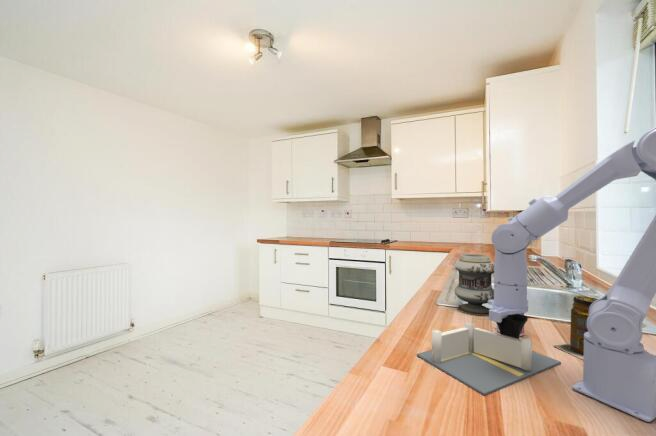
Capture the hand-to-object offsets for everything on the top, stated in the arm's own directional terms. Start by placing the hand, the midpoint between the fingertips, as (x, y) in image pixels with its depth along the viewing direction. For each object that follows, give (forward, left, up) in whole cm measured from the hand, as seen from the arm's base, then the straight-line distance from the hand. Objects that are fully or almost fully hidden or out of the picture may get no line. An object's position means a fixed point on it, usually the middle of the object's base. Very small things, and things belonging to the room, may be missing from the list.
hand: (509, 349), depth 59 cm
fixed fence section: (+7, +8, -2) cm, 11 cm away
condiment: (-4, -21, -3) cm, 22 cm away
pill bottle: (+10, -17, -3) cm, 20 cm away
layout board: (+3, +2, -3) cm, 5 cm away
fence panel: (+1, +1, -2) cm, 3 cm away
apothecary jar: (+26, -25, -3) cm, 36 cm away
